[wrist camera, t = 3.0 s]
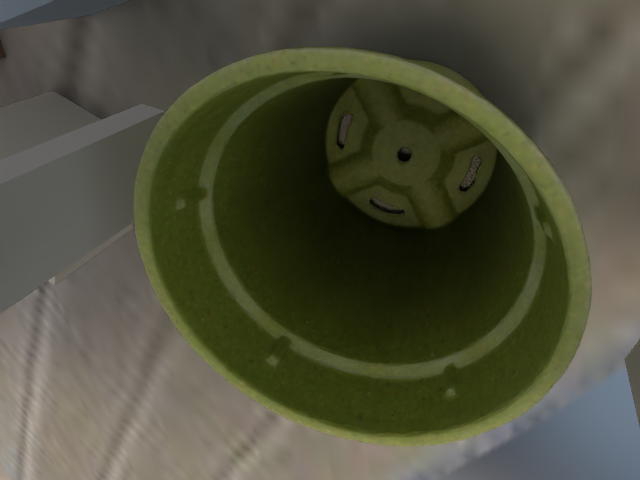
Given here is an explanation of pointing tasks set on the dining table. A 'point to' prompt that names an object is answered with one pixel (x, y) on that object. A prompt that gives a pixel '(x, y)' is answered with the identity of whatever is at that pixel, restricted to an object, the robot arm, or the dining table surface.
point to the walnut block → (2, 51)
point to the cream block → (45, 140)
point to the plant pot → (363, 245)
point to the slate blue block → (48, 10)
